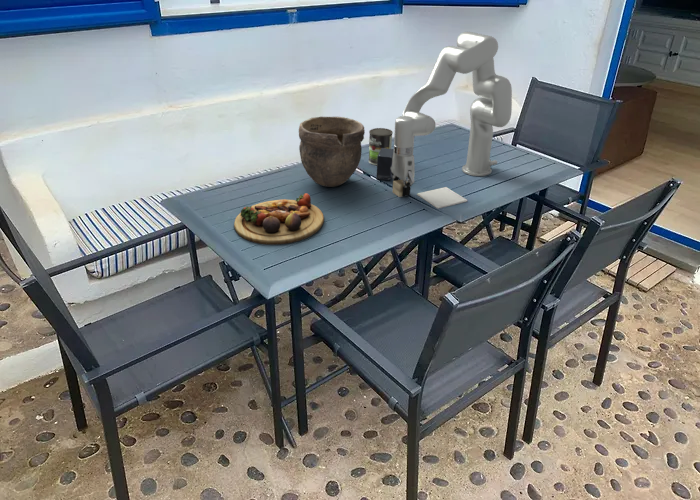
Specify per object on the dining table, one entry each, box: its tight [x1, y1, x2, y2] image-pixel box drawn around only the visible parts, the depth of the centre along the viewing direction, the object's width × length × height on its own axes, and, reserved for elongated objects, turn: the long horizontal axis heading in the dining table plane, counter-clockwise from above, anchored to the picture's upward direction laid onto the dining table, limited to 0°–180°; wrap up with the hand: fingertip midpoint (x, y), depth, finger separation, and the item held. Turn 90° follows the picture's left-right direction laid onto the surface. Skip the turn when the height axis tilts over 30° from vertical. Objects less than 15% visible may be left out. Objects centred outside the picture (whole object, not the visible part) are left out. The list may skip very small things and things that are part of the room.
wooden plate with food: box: [233, 193, 325, 246], centre depth 194 cm, size 32×32×8 cm
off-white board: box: [416, 186, 468, 209], centre depth 214 cm, size 14×14×1 cm
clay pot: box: [298, 116, 366, 188], centre depth 220 cm, size 26×26×25 cm
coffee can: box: [368, 127, 394, 166], centre depth 244 cm, size 10×10×14 cm
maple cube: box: [392, 179, 408, 198], centre depth 217 cm, size 5×5×5 cm
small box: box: [375, 148, 394, 181], centre depth 231 cm, size 11×6×10 cm, turn 168°
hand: (401, 191), depth 218 cm, fingers open, 6 cm apart
